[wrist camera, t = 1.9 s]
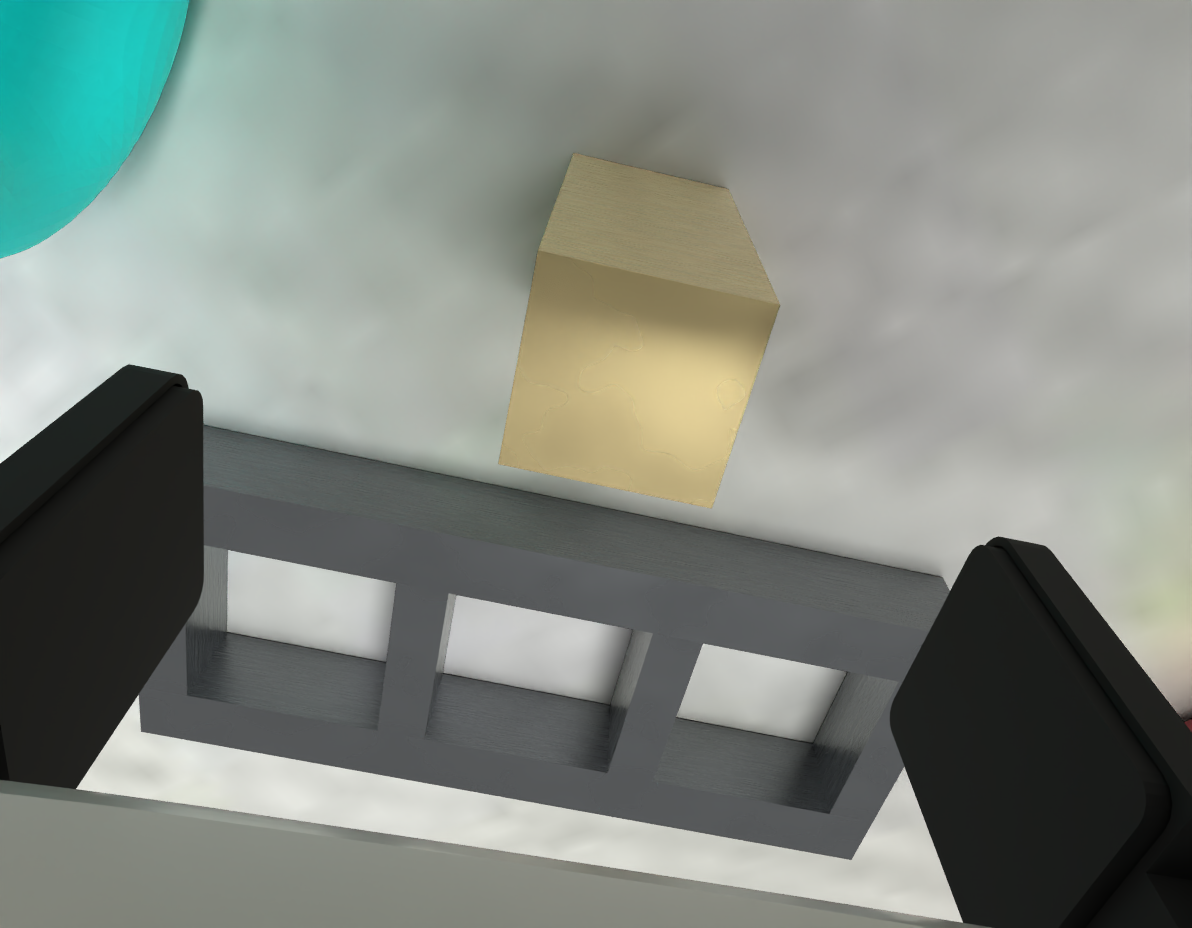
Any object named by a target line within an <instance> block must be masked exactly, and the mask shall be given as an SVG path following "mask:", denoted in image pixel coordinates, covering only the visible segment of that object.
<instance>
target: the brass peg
mask: <svg viewBox="0 0 1192 928" xmlns="http://www.w3.org/2000/svg"><path fill="white" fill-rule="evenodd" d="M779 307H780V304H779V301H778V299H777V297H776V295H775V292H774V290H773V288H772V286H771V283H770V281H769V279H768V277H767V274H766V272H765V270H764V268H763V266H762V263H761V261H760V259H759V257H758V254H757V252H756V250H755V248H754V245H753V243H752V241H751V239H750V237H749V234H748V232H747V230H746V228H745V225H744V223H743V221H742V219H741V216H740V214H739V212H738V210H737V207H736V205H735V203H734V201H733V199H732V196H731V194H730V192H729V190H728V189H726V188H721V187H717V186H713V185H709V184H704V183H700V182H696V181H692V180H687V179H683V178H679V177H675V176H670V175H666V174H662V173H658V172H653V171H649V170H645V169H640V168H636V167H632V166H628V165H623V164H619V163H615V162H611V161H606V160H602V159H598V158H594V157H589V156H585V155H581V154H577V153H573V156H572V159H571V161H570V164H569V167H568V170H567V172H566V175H565V178H564V181H563V183H562V186H561V189H560V191H559V194H558V197H557V200H556V202H555V205H554V208H553V211H552V213H551V216H550V219H549V222H548V224H547V227H546V230H545V232H544V235H543V238H542V241H541V243H540V246H539V249H538V253H537V258H536V264H535V269H534V274H533V280H532V285H531V291H530V296H529V301H528V307H527V312H526V318H525V323H524V328H523V334H522V339H521V344H520V350H519V355H518V361H517V366H516V371H515V377H514V382H513V388H512V393H511V398H510V404H509V409H508V414H507V420H506V425H505V431H504V436H503V441H502V447H501V452H500V458H499V463H498V464H500V465H505V466H510V467H515V468H520V469H524V470H529V471H534V472H539V473H544V474H548V475H553V476H558V477H563V478H568V479H572V480H577V481H582V482H587V483H592V484H596V485H601V486H606V487H611V488H616V489H621V490H625V491H630V492H635V493H640V494H645V495H649V496H654V497H659V498H664V499H669V500H673V501H678V502H683V503H688V504H693V505H697V506H702V507H707V508H712V506H713V503H714V500H715V497H716V494H717V491H718V488H719V485H720V482H721V479H722V476H723V473H724V471H725V468H726V465H727V462H728V459H729V456H730V453H731V450H732V447H733V444H734V441H735V438H736V435H737V432H738V429H739V426H740V423H741V420H742V417H743V414H744V411H745V408H746V405H747V402H748V399H749V396H750V393H751V390H752V387H753V384H754V381H755V378H756V375H757V372H758V369H759V366H760V363H761V360H762V357H763V354H764V352H765V349H766V346H767V343H768V340H769V337H770V334H771V331H772V328H773V325H774V322H775V319H776V316H777V313H778V310H779Z"/></svg>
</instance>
